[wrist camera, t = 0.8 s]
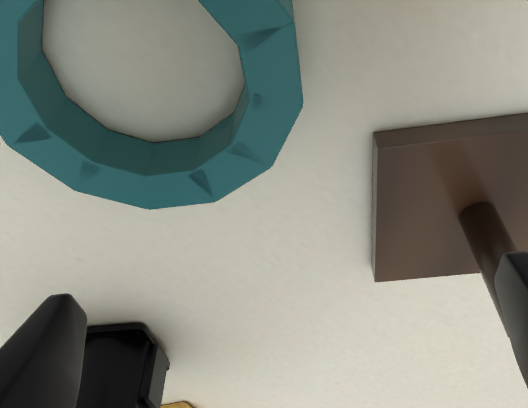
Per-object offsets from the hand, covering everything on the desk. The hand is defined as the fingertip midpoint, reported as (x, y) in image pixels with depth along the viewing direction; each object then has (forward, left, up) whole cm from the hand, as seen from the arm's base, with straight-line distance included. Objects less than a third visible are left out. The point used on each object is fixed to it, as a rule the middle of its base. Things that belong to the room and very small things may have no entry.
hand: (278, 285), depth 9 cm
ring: (-5, 0, -12) cm, 13 cm away
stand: (+9, -10, -12) cm, 18 cm away
